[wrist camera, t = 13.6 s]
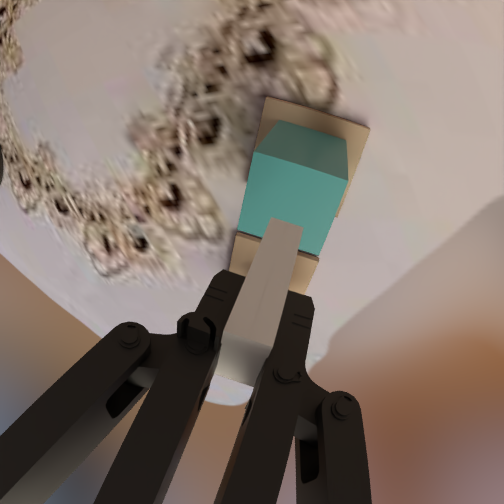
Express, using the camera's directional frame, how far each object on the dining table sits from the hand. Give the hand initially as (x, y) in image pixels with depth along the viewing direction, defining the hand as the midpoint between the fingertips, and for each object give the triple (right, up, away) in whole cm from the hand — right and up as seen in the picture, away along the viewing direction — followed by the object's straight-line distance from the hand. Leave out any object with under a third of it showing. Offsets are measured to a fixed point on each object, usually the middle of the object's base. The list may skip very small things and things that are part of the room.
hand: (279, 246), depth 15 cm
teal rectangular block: (+3, +7, +9) cm, 12 cm away
